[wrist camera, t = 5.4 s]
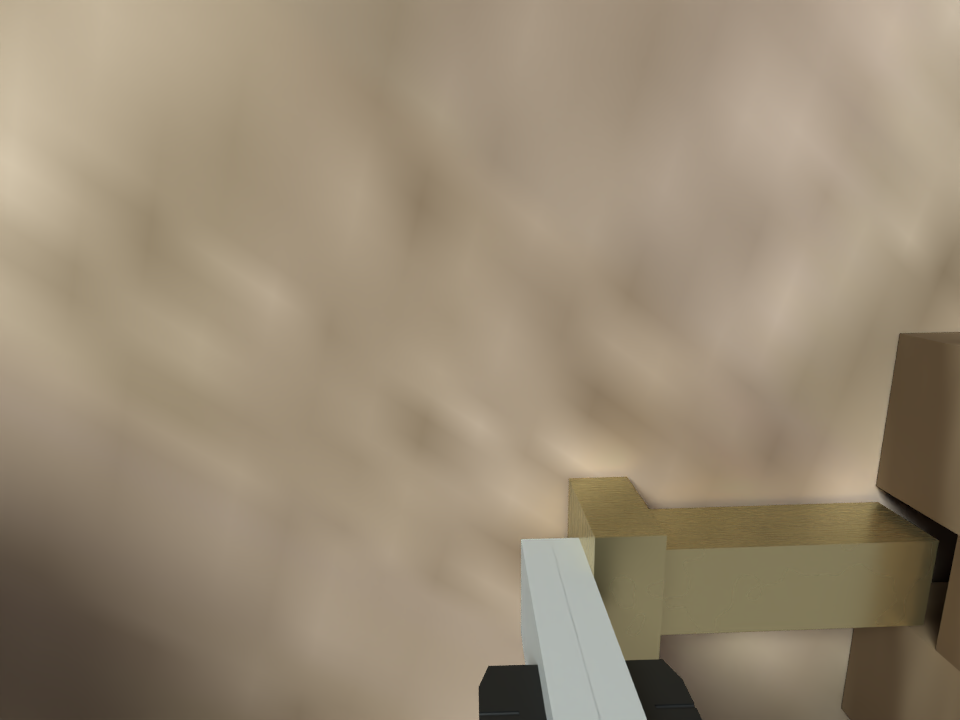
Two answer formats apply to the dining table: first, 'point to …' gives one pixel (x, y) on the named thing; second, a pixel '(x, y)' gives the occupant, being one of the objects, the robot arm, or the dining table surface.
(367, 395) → the dining table surface
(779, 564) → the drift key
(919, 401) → the socket block
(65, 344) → the dining table surface
